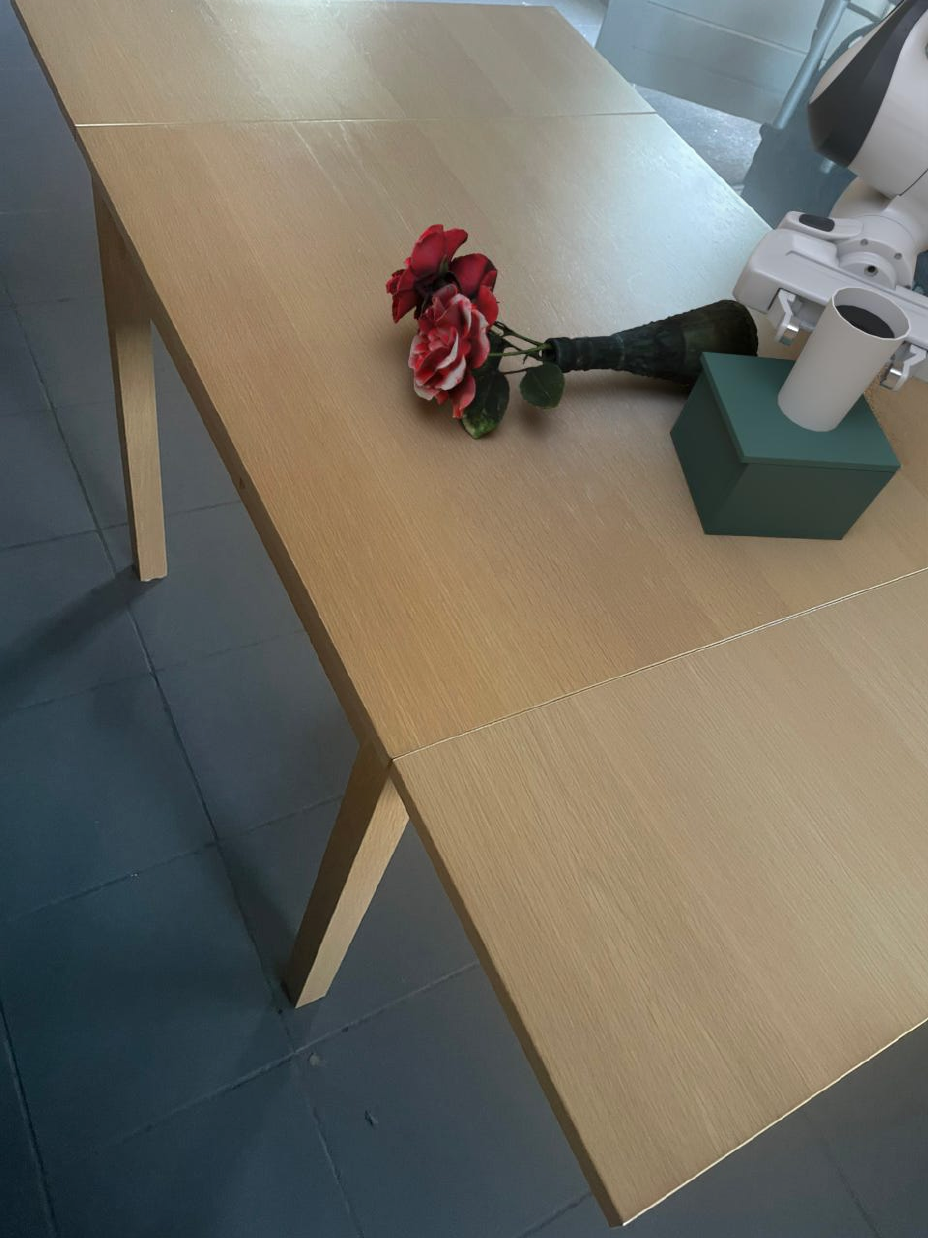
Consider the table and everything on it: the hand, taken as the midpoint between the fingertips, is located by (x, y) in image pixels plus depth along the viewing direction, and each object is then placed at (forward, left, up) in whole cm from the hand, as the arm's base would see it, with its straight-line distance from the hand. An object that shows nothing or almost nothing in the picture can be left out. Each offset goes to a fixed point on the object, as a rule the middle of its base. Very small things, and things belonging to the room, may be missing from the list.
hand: (838, 359), depth 75 cm
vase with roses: (+17, -14, -16) cm, 27 cm away
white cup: (-1, -1, -6) cm, 6 cm away
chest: (0, -1, -16) cm, 16 cm away
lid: (0, -1, -7) cm, 7 cm away
